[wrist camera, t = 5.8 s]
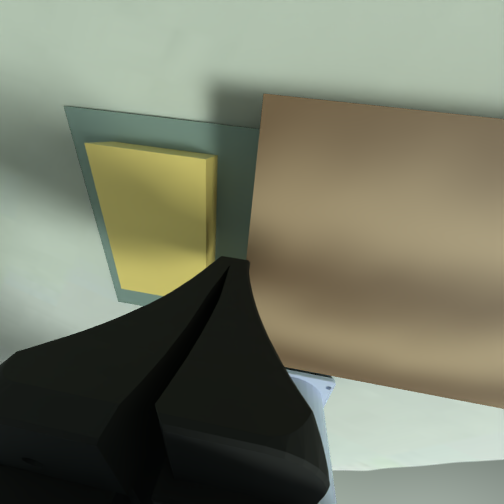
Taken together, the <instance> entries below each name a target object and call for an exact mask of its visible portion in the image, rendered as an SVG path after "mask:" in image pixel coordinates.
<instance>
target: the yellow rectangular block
mask: <svg viewBox="0 0 504 504" xmlns="http://www.w3.org/2000/svg"><path fill="white" fill-rule="evenodd" d="M84 144H85V148H86V152H87V156H88V159H89V163H90V167H91V171H92V175H93V179H94V183H95V187H96V191H97V195H98V199H99V203H100V207H101V211H102V214H103V218H104V222H105V226H106V230H107V234H108V238H109V242H110V246H111V250H112V254H113V258H114V262H115V266H116V269H117V273H118V277H119V281H120V285H121V289H126V290H131V291H137V292H143V293H148V294H154V295H159V296H165V295H166V294H168V293H170V292H172V291H173V290H175V289H177V288H178V287H180V286H181V285H183V284H184V283H186V282H187V281H189V280H190V279H192V278H193V277H194V276H196V275H197V274H198V273H200V272H201V271H203V270H204V269H205V268H206V267H208V266H209V265H210V264H212V263H213V262H214V261H215V247H216V206H217V165H218V155H211V154H204V153H196V152H189V151H181V150H174V149H166V148H159V147H151V146H143V145H136V144H128V143H121V142H94V143H84Z"/></svg>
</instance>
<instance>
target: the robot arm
mask: <svg viewBox="0 0 504 504" xmlns="http://www.w3.org/2000/svg"><path fill="white" fill-rule="evenodd" d="M249 269H250V262H249V261H248V260H244V259H238V258H232V257H225V256H221V257H219V258H218V259H217V260H215V261H214V262H213V263H212V264H210V265H209V266H208V267H206V268H205V269H204V270H203V271H201V272H200V273H198V274H197V275H196V276H194V277H193V278H192V279H190V280H189V281H187V282H186V283H184V284H183V285H181V286H180V287H178V288H177V289H175V290H173V291H172V292H170V293H168V294H166V295H165V296H163V297H161V298H159V299H157V300H155V301H153V302H151V303H149V304H147V305H145V306H143V307H141V308H139V309H136V310H134V311H132V312H130V313H128V314H125V315H123V316H121V317H118V318H116V319H114V320H111V321H108V322H106V323H103V324H101V325H98V326H95V327H93V328H90V329H87V330H84V331H81V332H79V333H76V334H73V335H70V336H67V337H63V338H60V339H57V340H54V341H50V342H47V343H44V344H41V345H38V346H34V347H31V348H28V349H24V350H21V351H17V352H16V353H15V354H13V355H12V356H11V357H10V358H8V359H7V360H6V361H5V362H3V363H2V364H1V365H0V504H337V502H336V495H335V488H334V480H333V473H332V466H331V459H330V452H329V444H328V437H327V430H326V423H325V416H324V406H325V404H326V402H327V400H328V398H329V397H330V395H331V393H332V391H333V389H334V387H335V385H336V384H335V380H334V379H333V378H329V377H324V376H318V375H313V374H308V373H303V372H298V371H292V370H287V369H285V367H284V365H283V363H282V362H281V360H280V358H279V356H278V354H277V352H276V350H275V348H274V346H273V345H272V343H271V341H270V339H269V337H268V335H267V332H266V330H265V328H264V325H263V323H262V320H261V318H260V315H259V312H258V310H257V307H256V303H255V300H254V296H253V292H252V288H251V283H250V275H249Z"/></svg>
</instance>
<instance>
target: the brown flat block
mask: <svg viewBox="0 0 504 504" xmlns="http://www.w3.org/2000/svg"><path fill="white" fill-rule="evenodd" d="M246 260H248V261H249V262H250V269H249V275H250V283H251V288H252V292H253V296H254V300H255V303H256V307H257V310H258V312H259V315H260V318H261V320H262V323H263V325H264V328H265V330H266V332H267V335H268V337H269V339H270V341H271V343H272V345H273V346H274V348H275V350H276V352H277V354H278V356H279V358H280V360H281V362H282V363H283V365H284V367H288V368H293V369H299V370H304V371H309V372H314V373H320V374H325V375H330V376H335V377H340V378H346V379H351V380H356V381H361V382H367V383H372V384H377V385H382V386H388V387H393V388H398V389H403V390H408V391H414V392H419V393H424V394H429V395H435V396H440V397H445V398H450V399H455V400H461V401H466V402H471V403H476V404H482V405H487V406H492V407H497V408H502V409H504V119H498V118H488V117H479V116H469V115H460V114H451V113H441V112H432V111H422V110H413V109H404V108H394V107H385V106H375V105H366V104H357V103H347V102H338V101H328V100H319V99H309V98H300V97H291V96H281V95H272V94H264V95H263V104H262V114H261V123H260V133H259V142H258V152H257V162H256V171H255V181H254V190H253V200H252V209H251V219H250V229H249V238H248V248H247V257H246Z"/></svg>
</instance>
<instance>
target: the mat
mask: <svg viewBox="0 0 504 504" xmlns="http://www.w3.org/2000/svg"><path fill="white" fill-rule="evenodd" d="M64 109H65V112H66V116H67V119H68V123H69V127H70V130H71V134H72V137H73V141H74V144H75V148H76V152H77V155H78V159H79V162H80V166H81V169H82V173H83V177H84V180H85V184H86V187H87V191H88V195H89V198H90V202H91V205H92V209H93V212H94V216H95V220H96V223H97V227H98V230H99V234H100V237H101V241H102V245H103V248H104V252H105V255H106V259H107V263H108V266H109V270H110V273H111V277H112V280H113V284H114V288H115V291H116V295H117V298H118V302H124V303H129V304H135V305H140V306H145V305H147V304H149V303H151V302H153V301H155V300H157V299H159V298H161V297H163V296H159V295H154V294H148V293H143V292H137V291H131V290H126V289H121V285H120V281H119V277H118V273H117V269H116V266H115V262H114V258H113V254H112V250H111V246H110V242H109V238H108V234H107V230H106V226H105V222H104V218H103V214H102V211H101V207H100V203H99V199H98V195H97V191H96V187H95V183H94V179H93V175H92V171H91V167H90V163H89V159H88V156H87V152H86V148H85V144H84V143H94V142H121V143H128V144H136V145H143V146H151V147H159V148H166V149H174V150H181V151H189V152H196V153H204V154H211V155H218V165H217V206H216V247H215V260H217V259H218V258H219V257H221V256H225V257H232V258H238V259H244V260H246V257H247V248H248V238H249V229H250V219H251V209H252V200H253V190H254V181H255V171H256V162H257V152H258V142H259V133H260V129H255V128H247V127H238V126H230V125H221V124H213V123H204V122H196V121H187V120H179V119H170V118H162V117H153V116H145V115H136V114H128V113H119V112H111V111H102V110H94V109H85V108H77V107H68V106H64Z"/></svg>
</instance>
